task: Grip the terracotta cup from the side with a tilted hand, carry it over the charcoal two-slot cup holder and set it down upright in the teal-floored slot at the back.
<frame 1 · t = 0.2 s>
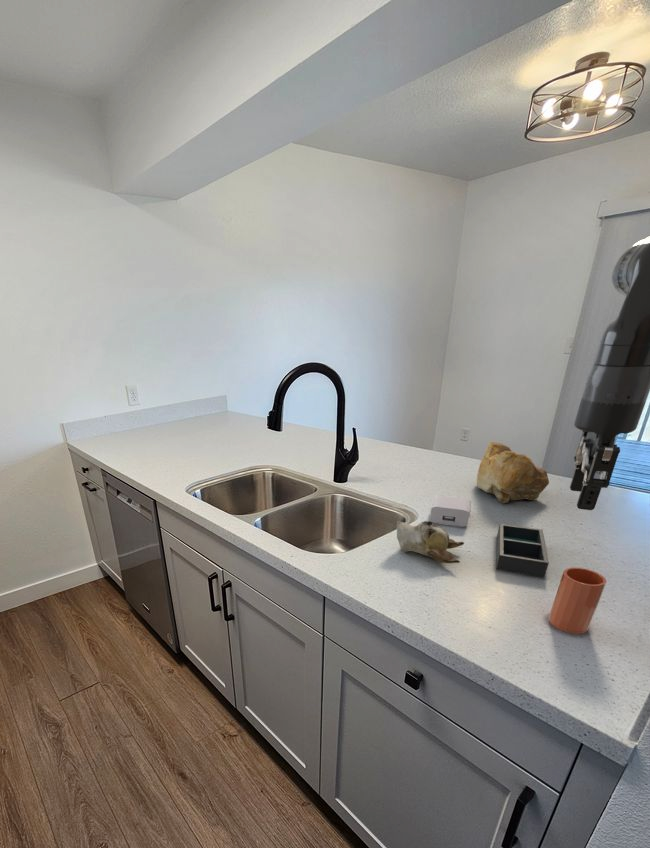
hand: (580, 499, 71), 22 cm above the worktop, tool pointing down, fingers open, 8 cm apart
charger: (450, 514, 121), on the worktop
holder: (518, 555, 99), on the worktop
ceramic sculpture: (426, 554, 102), on the worktop
rough brown rock: (510, 496, 130), on the worktop
cup: (567, 623, 78), on the worktop
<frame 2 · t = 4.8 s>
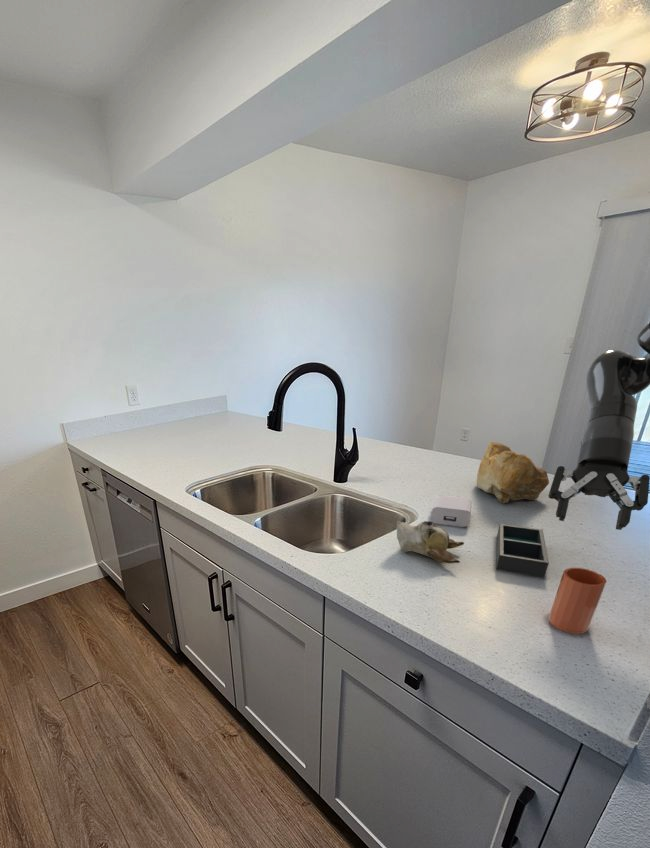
hand: (590, 523, 79), 15 cm above the worktop, tool tilted 45°, fingers open, 8 cm apart
nothing on the worktop moved.
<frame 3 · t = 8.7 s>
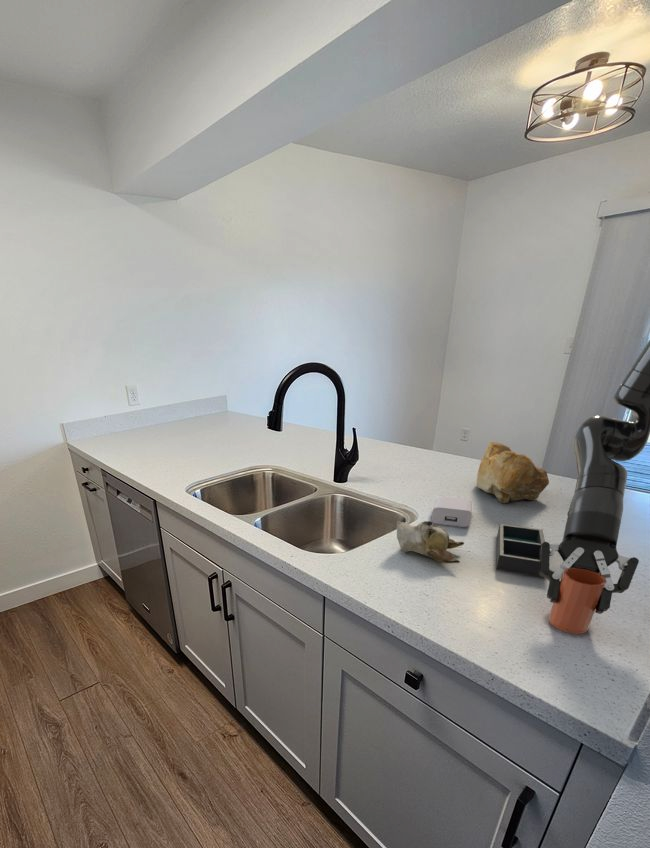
hand: (576, 606, 74), 5 cm above the worktop, tool tilted 45°, fingers closed on cup, 6 cm apart
cup: (567, 623, 78), on the worktop, touching gripper
everything else where it was.
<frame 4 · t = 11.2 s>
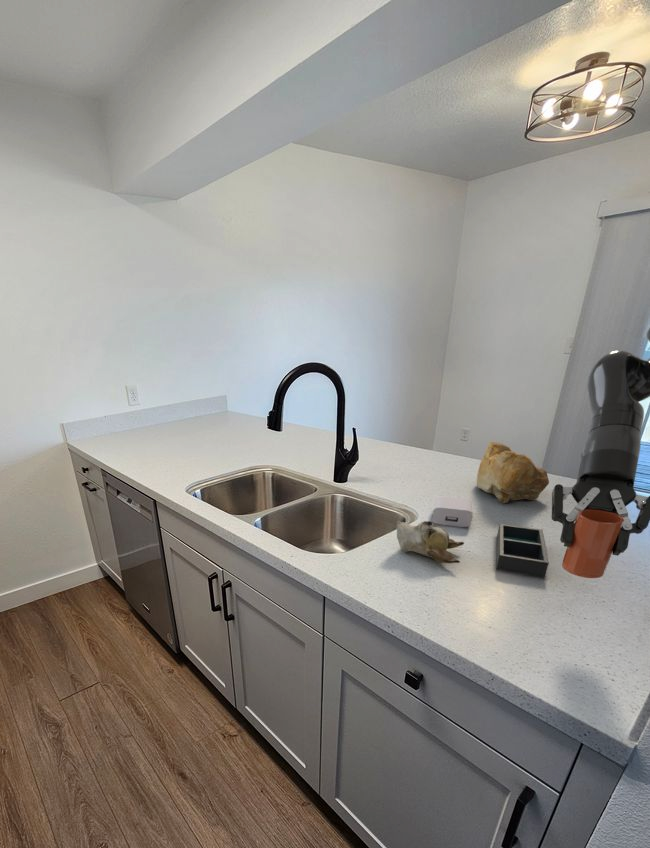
hand: (591, 549, 71), 15 cm above the worktop, tool tilted 45°, fingers closed on cup, 6 cm apart
cup: (582, 569, 74), point 11 cm above the worktop, touching gripper
everything else where it was.
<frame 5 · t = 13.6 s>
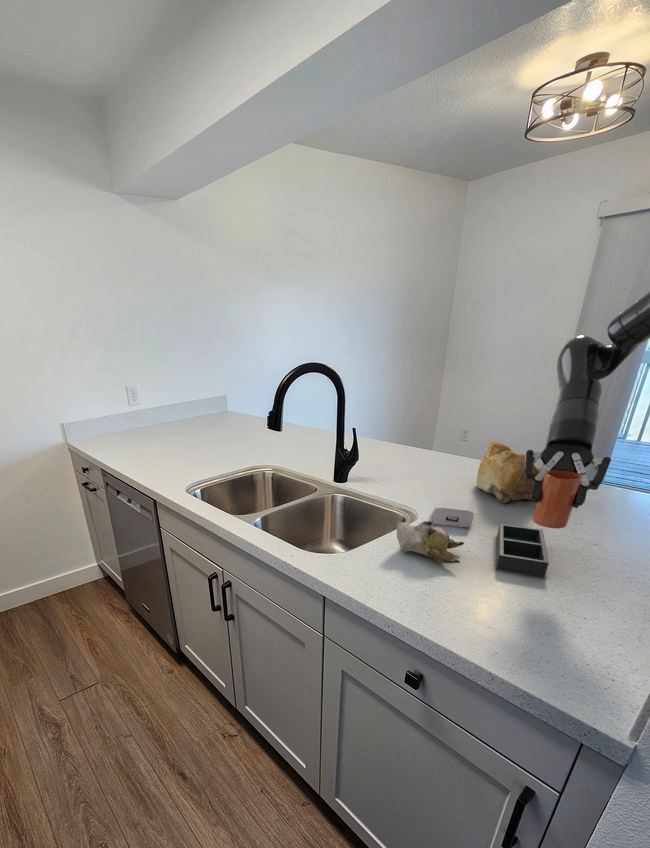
hand: (555, 503, 84), 17 cm above the worktop, tool tilted 45°, fingers closed on cup, 6 cm apart
cup: (549, 522, 87), point 12 cm above the worktop, touching gripper
everything else where it was.
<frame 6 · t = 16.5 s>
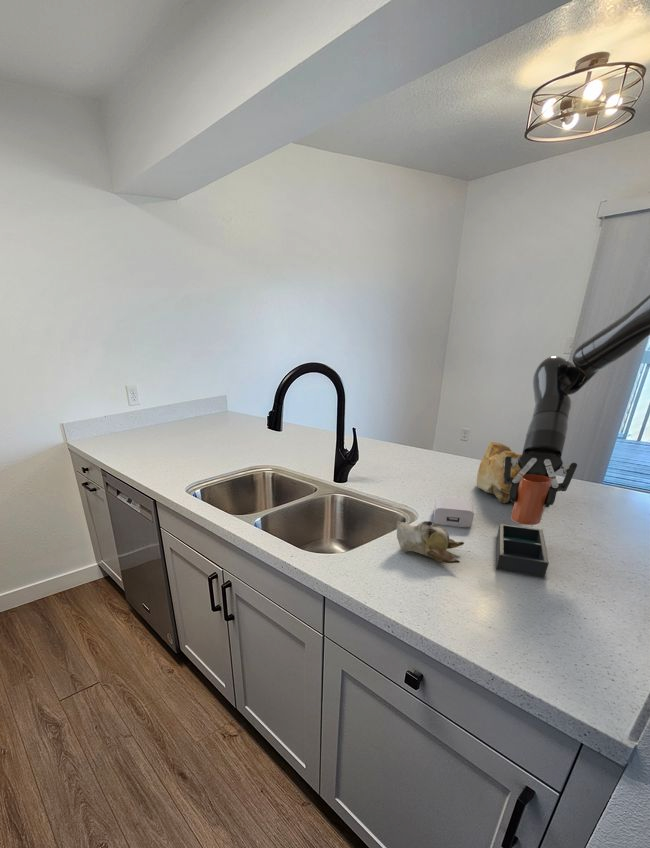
hand: (530, 503, 96), 12 cm above the worktop, tool tilted 45°, fingers closed on cup, 6 cm apart
cup: (525, 519, 99), point 7 cm above the worktop, touching gripper
everything else where it was.
when the fingers open (6 cm above the worktop, at t = 18.9 s): cup stays where it is, resting on holder.
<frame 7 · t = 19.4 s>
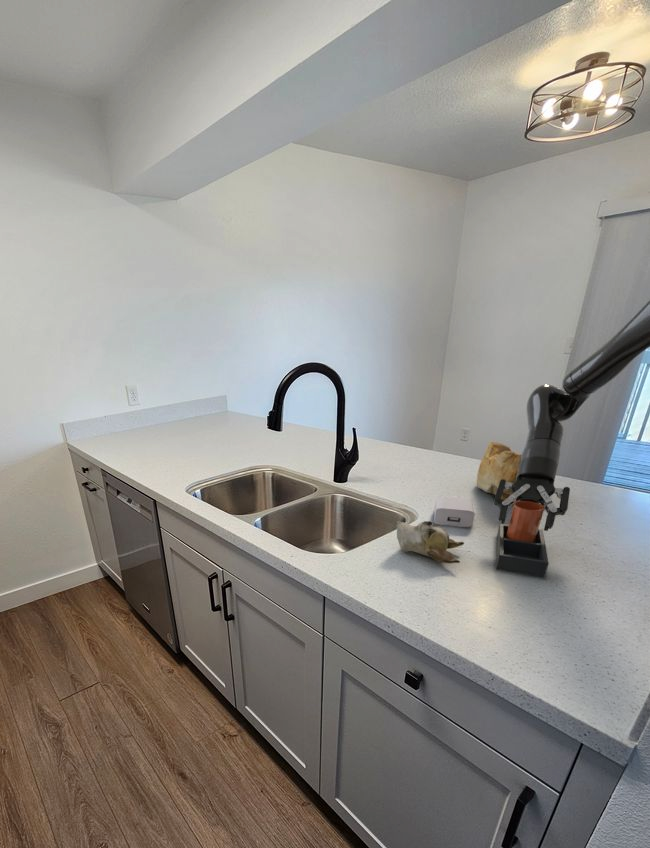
hand: (524, 525, 99), 6 cm above the worktop, tool tilted 45°, fingers open, 8 cm apart
cup: (518, 544, 102), point 1 cm above the worktop, touching holder
everything else where it was.
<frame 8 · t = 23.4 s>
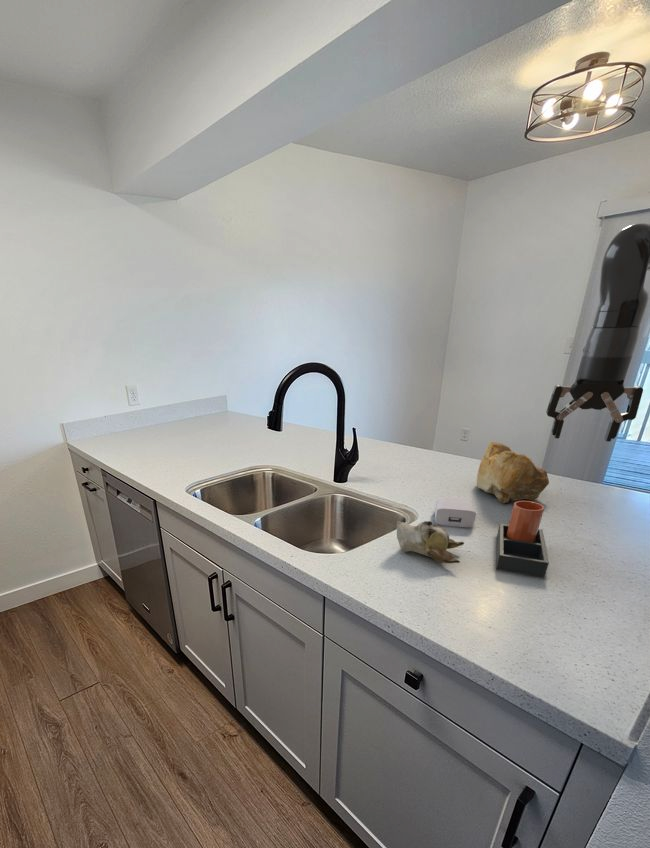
hand: (581, 439, 89), 26 cm above the worktop, tool pointing down, fingers open, 8 cm apart
nothing on the worktop moved.
at the end: cup 0.0 cm from the target spot in the holder, point 0.8 cm above the holder's base; cup tilted 0°; the gripper is holding nothing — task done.
